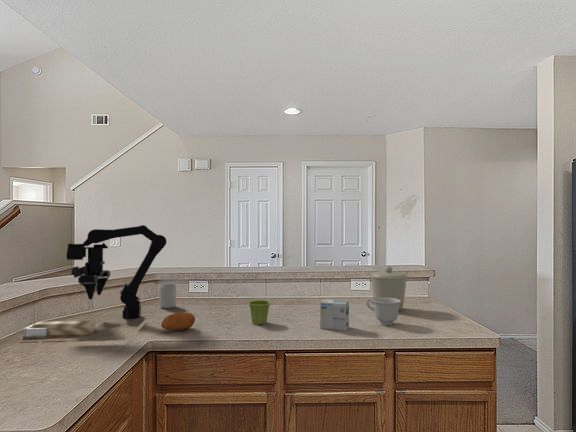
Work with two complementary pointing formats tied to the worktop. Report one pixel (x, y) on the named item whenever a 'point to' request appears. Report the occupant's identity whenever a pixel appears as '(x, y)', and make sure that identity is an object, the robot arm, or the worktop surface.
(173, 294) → the can
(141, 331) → the worktop surface
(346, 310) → the light bulb box
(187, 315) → the potato
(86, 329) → the rail
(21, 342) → the mounting board
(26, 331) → the cup bracket
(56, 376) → the worktop surface
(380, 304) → the teacup
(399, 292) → the canister
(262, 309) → the plant pot
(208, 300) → the worktop surface
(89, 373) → the worktop surface
